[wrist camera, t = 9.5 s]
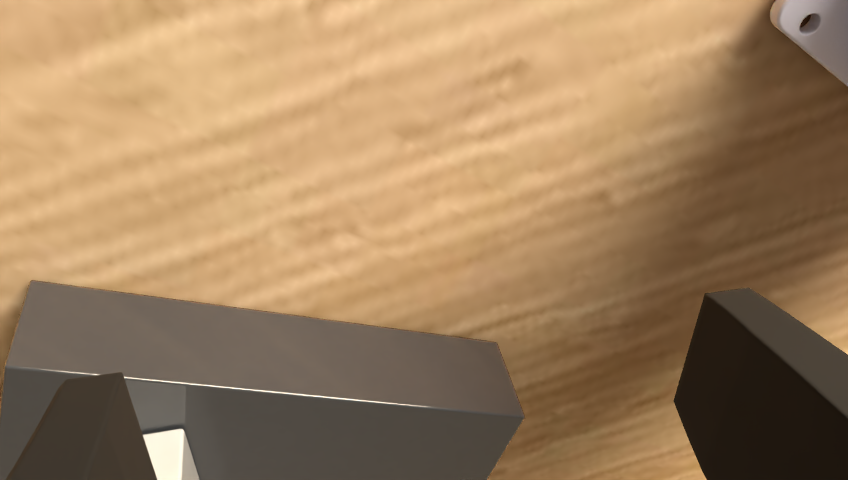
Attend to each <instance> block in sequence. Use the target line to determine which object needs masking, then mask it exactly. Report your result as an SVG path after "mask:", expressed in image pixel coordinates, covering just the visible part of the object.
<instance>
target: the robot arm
mask: <svg viewBox="0 0 848 480" xmlns="http://www.w3.org/2000/svg"><path fill="white" fill-rule="evenodd" d="M810 14H811V18H810V20H809V21H808V23H807V24H806V25H804V26H803V27H801V28H800V24H801V22H802V21H803V19H804V18H805V17H807V16H808V15H810ZM770 20H771V22H772V23H773V25H774V26H775V27H776V28H777V29H779V30H780V31H781V32H782V33H783V34H785V35H786V36H787V37H788V38H789V39H791V40H792V41H793V42H794V43H796V44H797V45H798V46H799V47H800V48H802V49H803V50H804V51H805V52H806V53H808V54H809V55H810V56H811V57H812V58H814V59H815V60H816V61H817V62H818V63H820V64H821V65H822V66H823V67H824V68H826V69H827V70H828V71H829V72H830V73H832V74H833V75H834V76H835V77H837V78H838V79H839V80H840V81H841V82H843V83H844V84H845V85H846V86H847V87H848V0H776V1H775V2H774V4H773V5H772V8H771V11H770ZM674 403H675V406H676V408H677V411H678V413H679V416H680V418H681V421H682V424H683V426H684V429H685V431H686V434H687V436H688V439H689V441H690V444H691V446H692V448H693V450H694V453H695V455H696V457H697V460H698V462H699V464H700V467H701V469H702V471H703V473H704V475H705V477H706V479H707V480H848V355H847V354H846V353H844V352H843V351H842V350H840V349H839V348H837V347H836V346H834V345H833V344H831V343H830V342H829V341H827V340H826V339H824V338H823V337H821V336H820V335H818V334H817V333H816V332H814V331H813V330H811V329H810V328H808V327H807V326H805V325H804V324H803V323H801V322H800V321H798V320H797V319H795V318H794V317H792V316H791V315H789V314H788V313H787V312H785V311H784V310H782V309H781V308H779V307H778V306H776V305H775V304H773V303H772V302H770V301H769V300H767V299H766V298H764V297H763V296H761V295H759V294H758V293H756V292H755V291H753V290H752V289H750V288H742V289H735V290H728V291H720V292H713V293H705V295H704V298H703V302H702V305H701V309H700V312H699V316H698V319H697V322H696V326H695V329H694V333H693V336H692V339H691V343H690V346H689V350H688V353H687V357H686V360H685V363H684V367H683V370H682V374H681V377H680V380H679V384H678V387H677V391H676V394H675V398H674ZM6 480H157V477H156V474H155V471H154V468H153V465H152V462H151V459H150V456H149V453H148V450H147V447H146V443H145V440H144V437H143V434H142V431H141V428H140V425H139V422H138V419H137V416H136V413H135V410H134V407H133V404H132V401H131V398H130V395H129V391H128V388H127V385H126V382H125V379H124V376H123V373H122V372H118V373H110V374H103V375H95V376H88V377H80V378H73V379H66V380H65V381H64V383H63V384H62V385H61V386H60V387H59V388H58V390H57V392H56V393H55V395H54V397H53V399H52V401H51V402H50V404H49V406H48V408H47V410H46V411H45V413H44V415H43V417H42V418H41V420H40V422H39V424H38V426H37V427H36V429H35V431H34V433H33V434H32V436H31V438H30V440H29V441H28V443H27V445H26V446H25V448H24V450H23V452H22V453H21V455H20V457H19V458H18V460H17V462H16V463H15V465H14V467H13V468H12V470H11V472H10V473H9V475H8V477H7V478H6Z"/></svg>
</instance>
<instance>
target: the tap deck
mask: <svg viewBox="0 0 848 480" xmlns="http://www.w3.org/2000/svg"><path fill="white" fill-rule="evenodd" d="M118 372H122V373H123V376H124V379H125V382H126V385H127V388H128V391H129V395H130V398H131V401H132V404H133V407H134V410H135V413H136V416H137V419H138V422H139V425H140V428H141V431H142V434H143V435H144V434H150V433H156V432H162V431H169V430H175V429H183V430H184V432H185V435H186V438H187V441H188V444H189V448H190V451H191V454H192V457H193V460H194V464H195V467H196V470H197V473H198V476H199V480H487V479H488V478H489V476H490V474H491V473H492V471H493V469H494V468H495V466H496V464H497V463H498V461H499V460H500V458H501V456H502V455H503V453H504V451H505V450H506V448H507V446H508V445H509V443H510V441H511V440H512V438H513V437H514V435H515V433H516V432H517V430H518V428H519V427H520V425H521V423H522V422H523V420H524V418H525V415H524V413H523V410H522V407H521V405H520V402H519V399H518V397H517V394H516V391H515V389H514V386H513V384H512V381H511V378H510V376H509V373H508V370H507V368H506V365H505V362H504V360H503V357H502V354H501V352H500V349H499V347H498V344H497V343H496V342H491V341H484V340H476V339H469V338H461V337H454V336H446V335H439V334H431V333H424V332H416V331H409V330H401V329H394V328H386V327H379V326H371V325H364V324H356V323H349V322H341V321H334V320H326V319H319V318H311V317H304V316H296V315H289V314H281V313H274V312H266V311H259V310H251V309H244V308H236V307H229V306H221V305H214V304H206V303H199V302H191V301H184V300H176V299H169V298H161V297H154V296H146V295H139V294H131V293H124V292H116V291H109V290H101V289H94V288H86V287H79V286H72V285H64V284H57V283H49V282H42V281H34V280H32V281H30V282H29V285H28V289H27V292H26V295H25V299H24V302H23V305H22V309H21V312H20V315H19V319H18V322H17V325H16V329H15V332H14V335H13V338H12V342H11V345H10V348H9V352H8V355H7V358H6V362H5V365H4V373H3V383H2V394H1V405H0V480H6V478H7V477H8V475H9V473H10V472H11V470H12V468H13V467H14V465H15V463H16V462H17V460H18V458H19V457H20V455H21V453H22V452H23V450H24V448H25V446H26V445H27V443H28V441H29V440H30V438H31V436H32V434H33V433H34V431H35V429H36V427H37V426H38V424H39V422H40V420H41V418H42V417H43V415H44V413H45V411H46V410H47V408H48V406H49V404H50V402H51V401H52V399H53V397H54V395H55V393H56V392H57V390H58V388H59V387H60V386H61V385H62V384H63V383H64V381H65V380H66V379H73V378H80V377H88V376H95V375H103V374H110V373H118Z"/></svg>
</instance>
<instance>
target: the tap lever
mask: <svg viewBox="0 0 848 480" xmlns="http://www.w3.org/2000/svg"><path fill="white" fill-rule="evenodd" d="M143 437H144V440H145V443H146V447H147V450H148V453H149V456H150V459H151V462H152V465H153V468H154V471H155V474H156V477H157V480H199V476H198V473H197V470H196V467H195V464H194V460H193V457H192V454H191V451H190V448H189V444H188V441H187V438H186V435H185V432H184V430H183V429H175V430H169V431H162V432H156V433H150V434H144V435H143Z"/></svg>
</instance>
